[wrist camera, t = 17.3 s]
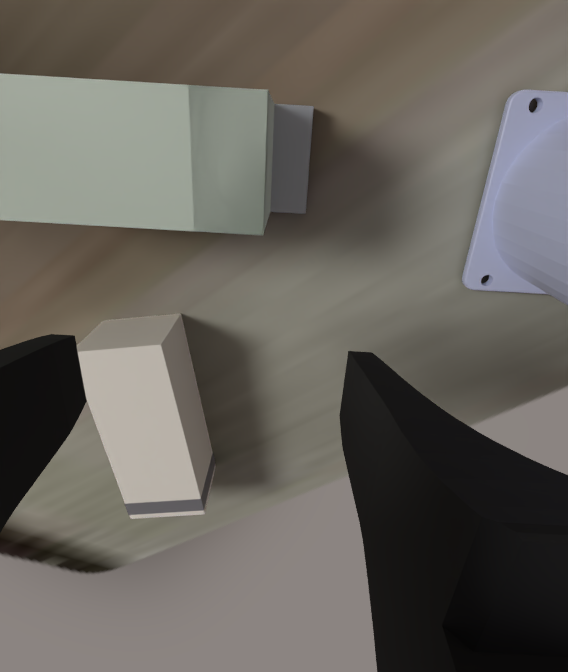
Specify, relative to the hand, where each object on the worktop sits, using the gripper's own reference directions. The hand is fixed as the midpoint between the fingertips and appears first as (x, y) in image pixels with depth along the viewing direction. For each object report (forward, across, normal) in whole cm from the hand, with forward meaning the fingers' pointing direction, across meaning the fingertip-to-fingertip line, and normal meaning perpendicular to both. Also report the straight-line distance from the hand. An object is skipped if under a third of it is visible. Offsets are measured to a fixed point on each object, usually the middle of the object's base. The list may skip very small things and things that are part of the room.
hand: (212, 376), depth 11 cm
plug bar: (+10, +4, +8) cm, 13 cm away
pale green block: (+9, +4, -5) cm, 11 cm away
